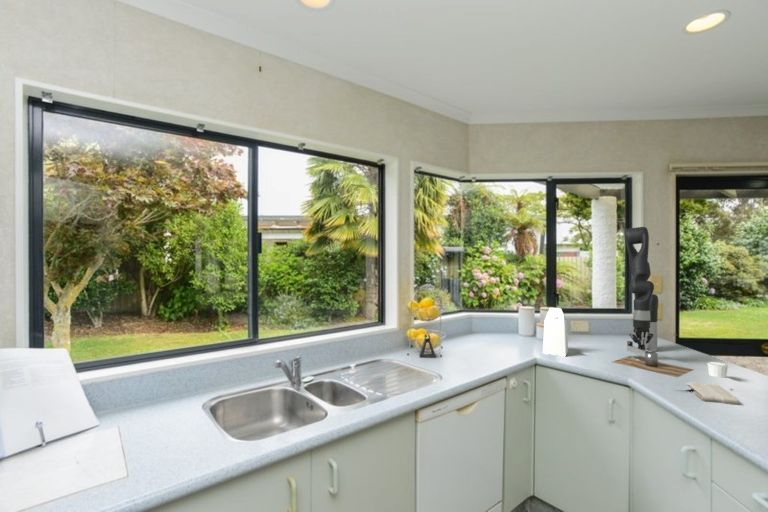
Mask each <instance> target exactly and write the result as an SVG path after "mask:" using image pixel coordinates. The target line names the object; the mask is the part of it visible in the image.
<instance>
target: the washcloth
mask: <svg viewBox="0 0 768 512" xmlns="http://www.w3.org/2000/svg"><path fill="white" fill-rule="evenodd" d="M686 385H687V386H689V387H690V389H691V390H689V391H690V392H691V391H692V392H694V393H695V394H694V396H696V397H697V398H698V399H699V400H700V401H703V402H710V403H719V404H721V403H722V404H727V405H736V406H737V405H738V406H739V405H741V403H740V400H739V399H738V398H736V397H735V396H733V395H732V394H731V393H730V392H728V391H727V390H726V389H724V388H723V387H721V386H720V385H718V384H713V383H712V384H709V383H708V384H707V383H706V384H705V383H700V382H694V381H692V382H691V381H690V382H689V381H687V382H686ZM692 392H691V393H692Z"/></svg>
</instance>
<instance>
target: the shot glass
mask: <svg viewBox="0 0 768 512" xmlns="http://www.w3.org/2000/svg"><path fill="white" fill-rule="evenodd" d="M706 363H707V371H708V376H711V377H714V378H721V379H722V378H723V379H725V378H727V372H728V364H726V363H723V362H717V361H708V362H706Z"/></svg>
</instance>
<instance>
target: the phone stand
mask: <svg viewBox="0 0 768 512" xmlns="http://www.w3.org/2000/svg"><path fill="white" fill-rule="evenodd" d="M427 336H428V337H427ZM427 343H428V344H429V345H428V346H429V348H430V352H431V353H430V354H429V353H425V350H426V346H427ZM418 355H419V358H420V359H428V358H430V359H436V358H437V356H436V354H435V351H434V347H433V345H432V342H431V335H430V334H429V333H428V334H427V333H426V334H424V340H423V343H422V346H421V348H420V351H419V354H418Z"/></svg>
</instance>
